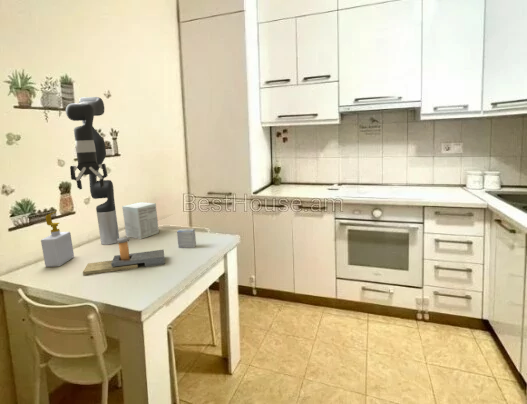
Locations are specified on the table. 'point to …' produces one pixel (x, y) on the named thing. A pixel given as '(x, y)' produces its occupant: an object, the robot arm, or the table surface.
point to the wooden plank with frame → (126, 262)
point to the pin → (123, 248)
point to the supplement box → (140, 220)
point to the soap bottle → (56, 245)
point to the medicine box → (186, 238)
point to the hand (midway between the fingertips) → (91, 188)
